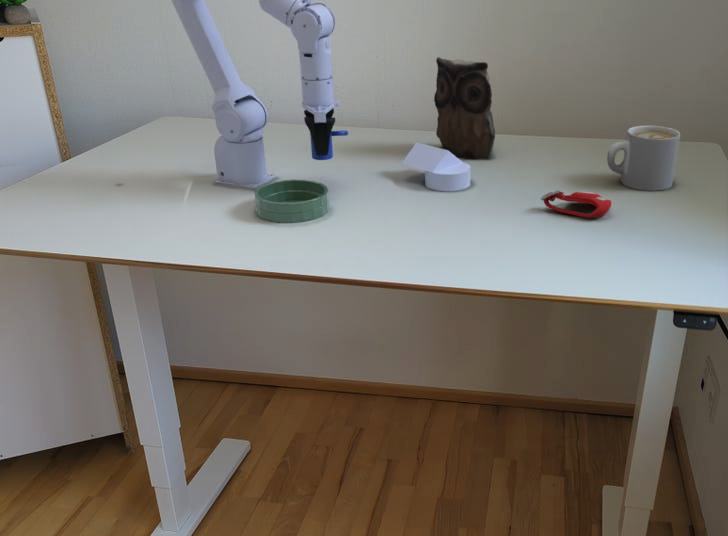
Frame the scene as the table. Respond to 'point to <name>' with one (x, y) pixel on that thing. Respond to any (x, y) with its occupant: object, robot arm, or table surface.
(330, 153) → the scoop
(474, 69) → the owl
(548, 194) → the tracker holder
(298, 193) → the green plant saucer
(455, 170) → the wedge on round base
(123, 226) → the table surface
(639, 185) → the coffee mug
